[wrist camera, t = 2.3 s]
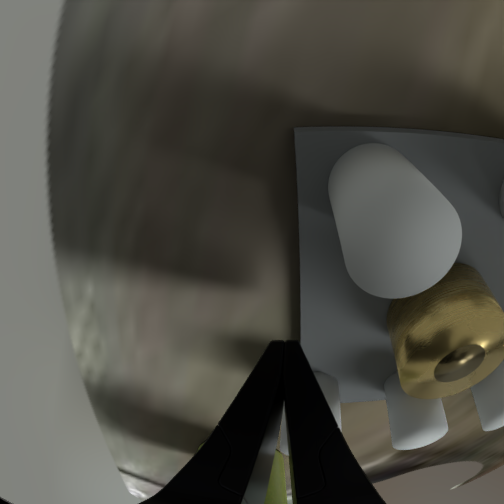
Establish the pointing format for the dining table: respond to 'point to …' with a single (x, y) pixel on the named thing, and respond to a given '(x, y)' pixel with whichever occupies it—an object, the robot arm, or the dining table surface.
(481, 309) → the brass knob
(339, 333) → the board
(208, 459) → the robot arm
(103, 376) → the dining table surface
